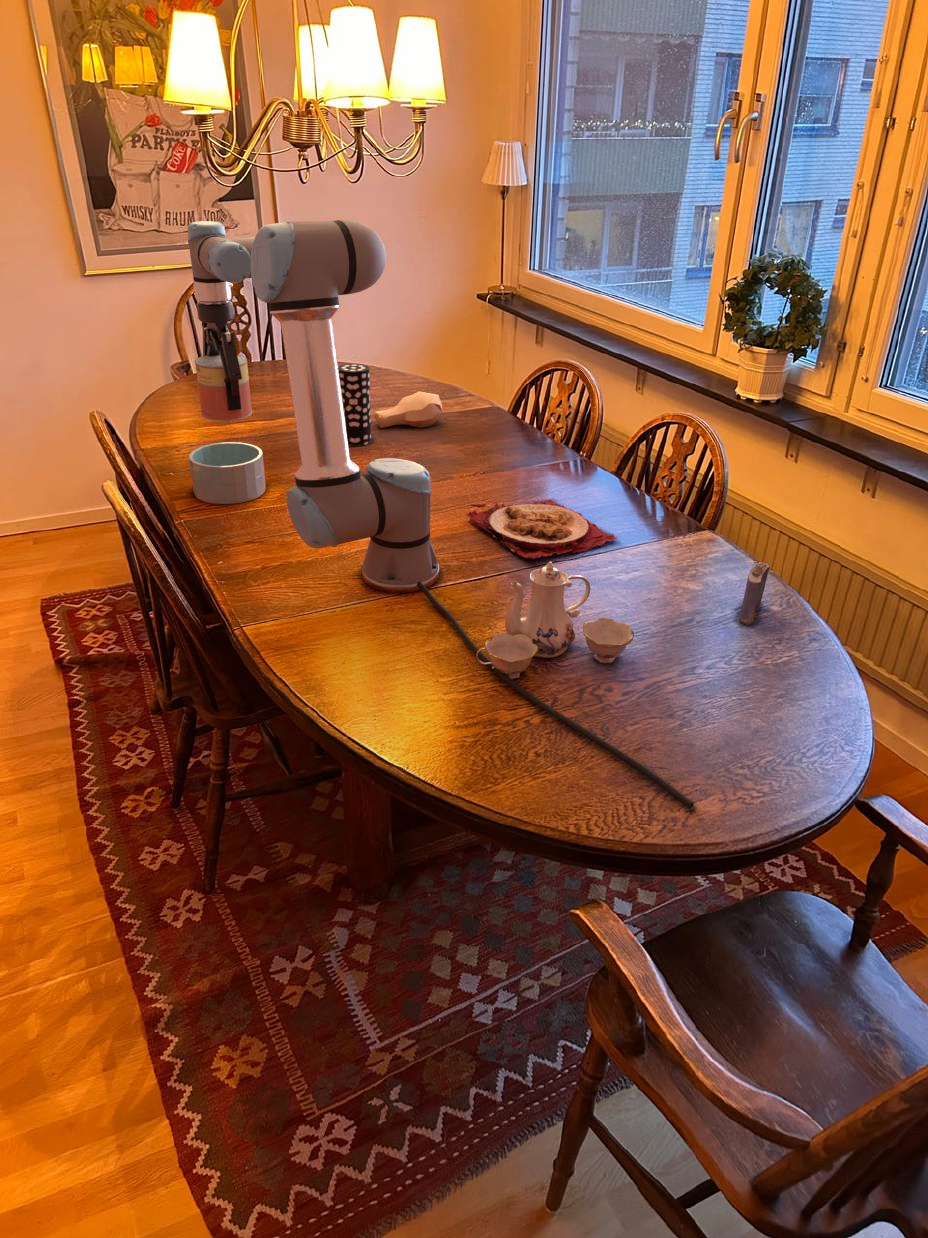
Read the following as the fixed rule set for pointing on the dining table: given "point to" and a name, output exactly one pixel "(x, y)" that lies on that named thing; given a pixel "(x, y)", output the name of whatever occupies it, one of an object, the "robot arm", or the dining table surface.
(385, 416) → the squash
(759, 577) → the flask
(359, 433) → the white-spotted black cylinder
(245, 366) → the canned food
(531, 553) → the plate with food
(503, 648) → the chinaware
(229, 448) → the pot
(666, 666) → the dining table surface
